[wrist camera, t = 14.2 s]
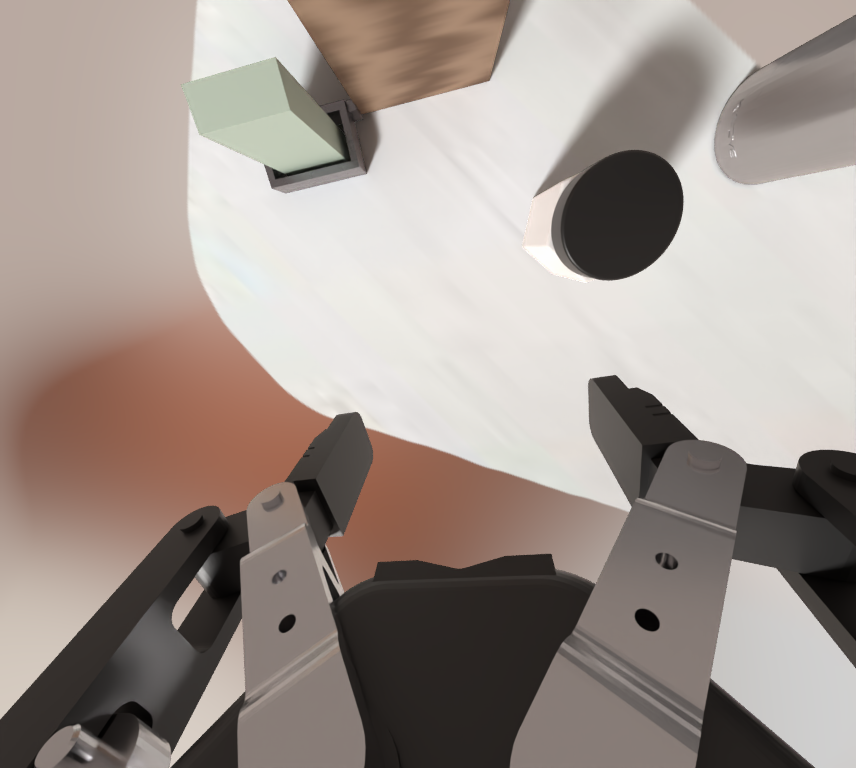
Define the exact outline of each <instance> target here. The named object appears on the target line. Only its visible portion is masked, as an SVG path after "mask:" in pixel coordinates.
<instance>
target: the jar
mask: <svg viewBox="0 0 856 768" xmlns="http://www.w3.org/2000/svg"><path fill="white" fill-rule="evenodd" d="M682 212H683V190H682V186H681V182H680V180H679V177H678V175H677V173H676V172H675V170H674V169H673V167H672V166H671V165H670V164H669V163H668V162H667V161H666V160H664V159H663V158H661V157H660V156H658V155H656V154H654V153H651V152H647V151H642V150H628V151H622V152H618V153H615V154H612V155H610V156H608V157H605V158H604V159H602V160H600V161H598V162H597V163H595V164H593V165H591V166H590V167H588V168H586V169H585V170H583V171H582V172H580V173H578V174H576V175H574V176H572V177H569V178H567V179H565V180H563V181H561V182H560V183H558V184H556V185H554V186H553V187H551V188H549V189H547V190H546V191H544V192H542V193H541V194H539V195H537V196H535V197H534V198H533V199H532V203H531V208H530V212H529V217H528V221H527V226H526V230H525V235H524V239H523V244H522V248H523V249H524V250H525V251H527V252H528V253H529V254H530V255H531V256H532V257H533V258H534V259H536V260H537V261H538V262H539V263H540V264H541V265H542V266H543V267H545V268H546V269H547V270H548V271H549V272H550V273H551V274H553V275H556V276H561V277H565V278H569V279H573V280H577V281H581V282H585V283H588V282H590V281H593V280H595V279H598V280H619V279H624V278H627V277H630V276H633V275H635V274H637V273H639V272H641V271H643V270H644V269H646V268H647V267H649V266H650V265H651V264H653V263H654V262H655V261H656V260H657V259H658V258H659V257H660V256H661V255H662V254H663V253H664V252H665V250H666V249H667V248H668V246H669V245H670V243H671V242H672V240H673V238H674V236H675V234H676V232H677V230H678V228H679V225H680V222H681V218H682Z"/></svg>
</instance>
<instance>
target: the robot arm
mask: <svg viewBox="0 0 856 768" xmlns="http://www.w3.org/2000/svg"><path fill="white" fill-rule="evenodd" d="M714 151H715V155H716V160H717V163H718V165H719V167H720V169H721V170H722V171H723V173H724V174H725V175H726V176H727V177H728V178H730V179H732V180H733V181H735V182H738V183H742V184H761V183H766V182H771V181H776V180H781V179H786V178H791V177H796V176H802V175H807V174H812V173H817V172H822V171H827V170H832V169H837V168H842V167H847V166H852V165H856V15H854V16H853V17H851V18H849V19H847V20H846V21H844V22H842V23H840V24H839V25H837V26H835V27H833V28H831V29H830V30H828V31H826V32H824V33H823V34H821V35H819V36H818V37H816V38H814V39H812V40H810V41H808V42H806V43H805V44H803V45H801V46H799V47H798V48H796V49H794V50H792V51H791V52H789V53H787V54H785V55H784V56H782V57H780V58H779V59H777V60H775V61H773V62H771V63H770V64H768V65H766V66H764V67H763V68H761V69H760V70H758V71H757V72H755V73H754V74H752V75H751V76H750V77H749V78H747V79H746V80H745V81H744V82H743V83H742V84H741V85H740V86H739V87H738V88H737V90H736V91H735V92H734V94H733V95H732V96H731V97H730V99H729V100H728V102H727V104H726V106H725V108H724V109H723V111H722V113H721V116H720V119H719V121H718V124H717V128H716V133H715V138H714ZM588 395H589V424H590V429H591V433H592V436H593V438H594V440H595V442H596V444H597V445H598V447H599V449H600V451H601V452H602V454H603V456H604V458H605V460H606V461H607V463H608V465H609V467H610V469H611V470H612V472H613V474H614V476H615V478H616V479H617V481H618V483H619V485H620V487H621V488H622V490H623V492H624V494H625V495H626V497H627V499H628V501H629V503H630V504H631V506H632V508H631V510H630V512H629V515H628V517H627V519H626V521H625V523H624V525H623V527H622V529H621V531H620V534H619V536H618V538H617V540H616V542H615V544H614V546H613V549H612V551H611V553H610V555H609V557H608V559H607V561H606V563H605V566H604V568H603V570H602V572H601V574H600V576H599V578H598V580H597V582H596V584H594V583H592V582H591V581H589V580H587V579H584V578H582V577H579V576H577V575H575V574H572V573H569V572H565V571H562V570H557V569H555V567H554V563H553V559H552V555H551V554H538V555H518V556H517V555H516V556H504V557H500V558H497V559H494V560H490V561H487V562H483V563H480V564H477V565H474V566H470V567H467V568H462V569H455V568H450V567H446V566H442V565H437V564H432V563H428V562H423V561H418V560H413V561H393V562H378V564H377V568H376V572H375V576H374V577H373V578H370V579H368V580H366V581H363V582H361V583H360V584H357V585H356V586H354V587H352V588H350V589H349V590H348V591H346V592H345V593H344V591H343V588H342V585H341V583H340V580H339V577H338V575H337V572H336V569H335V566H334V564H333V561H332V558H331V556H330V553H329V550H328V548H327V547H326V544H325V543H326V541H327V539H328V537H335V536H343V535H344V532H345V530H346V527H347V525H348V522H349V520H350V517H351V515H352V512H353V510H354V507H355V504H356V502H357V499H358V497H359V494H360V492H361V489H362V487H363V484H364V481H365V479H366V476H367V474H368V471H369V469H370V466H371V464H372V460H373V450H372V446H371V443H370V440H369V437H368V434H367V432H366V429H365V426H364V423H363V421H362V418H361V416H360V414H359V413H358V412H353V413H346V414H339V415H337V416H336V417H335V418H334V420H333V421H332V423H331V424H330V426H329V427H328V429H325V430H324V431H323V432H322V433H321V434H319V435H318V436H317V437H316V438H315V439H314V440H313V442H312V443H311V444H310V446H309V447H308V450H306V452H305V453H304V455H303V458H301V459H300V460H299V462H298V463H297V465H296V466H295V468H294V469H293V470H292V472H291V473H290V475H289V476H288V478H287V479H286V480H285V482H282V483H278V484H275V485H272V486H270V487H268V488H266V489H265V490H263V491H262V492H260V493H259V494H258V495H257V496H256V497H254V499H253V500H252V501H251V502H250V504H249V505H248V508H247V510H245V511H242V512H239V513H237V514H233V515H230V516H228V517H225V516H224V515H223V513H222V512H221V510H220V509H219V508H218V507H217V506H207V507H203V508H201V509H198V510H196V511H194V512H192V513H190V514H188V515H187V516H185V517H184V518H183V519H181V520H180V521H179V522H178V523H176V524H175V525H174V526H173V528H171V530H170V531H169V532H168V533H167V534H166V535H165V536H164V537H163V539H162V540H161V541H160V542H159V543H158V544H157V545H156V547H155V548H154V549H153V550H152V551H151V552H150V553H149V554H148V555H147V556H146V558H145V559H144V560H143V561H142V562H141V563H140V564H139V565H138V566H137V568H136V569H135V570H134V571H133V572H132V573H131V574H130V575H129V576H128V578H127V579H126V580H125V581H124V582H123V583H122V584H121V585H120V587H119V588H118V589H117V590H116V591H115V592H114V593H113V594H112V595H111V597H110V598H109V599H108V600H107V601H106V602H105V603H104V604H103V606H102V607H101V608H100V609H99V610H98V611H97V612H96V613H95V614H94V616H93V617H92V618H91V619H90V620H89V621H88V622H87V623H86V625H85V626H84V627H83V628H82V629H81V630H80V631H79V632H78V633H77V635H76V636H75V637H74V638H73V639H72V640H71V641H70V642H69V644H68V645H67V646H66V647H65V648H64V649H63V650H62V651H61V653H60V654H59V655H58V656H57V657H56V658H55V659H54V660H53V661H52V663H51V664H50V665H49V666H48V667H47V668H46V669H45V671H43V673H42V674H41V675H40V676H39V677H38V678H37V680H35V682H34V683H33V684H32V685H31V686H30V687H29V688H28V689H27V690H26V692H25V693H24V694H23V695H22V696H21V697H20V698H19V699H18V700H17V702H16V703H15V704H14V705H13V706H12V707H11V708H10V709H9V710H8V712H7V713H6V714H5V715H4V716H3V717H2V718H1V719H0V768H169V765H170V761H171V754H172V752H173V751H174V749H175V747H176V745H177V743H178V741H179V739H180V737H181V735H182V733H183V731H184V729H185V727H186V725H187V723H188V721H189V720H190V718H191V715H192V714H193V712H194V710H195V708H196V706H197V704H198V702H199V700H200V698H201V696H202V694H203V692H204V691H205V689H206V687H207V685H208V683H209V681H210V679H211V677H212V675H213V673H214V671H215V669H216V667H217V665H218V663H219V661H220V659H221V658H222V655H223V654H224V652H225V650H226V648H227V646H228V644H229V642H230V640H231V638H232V636H233V634H234V632H235V630H236V629H237V627H238V625H239V623H240V621H241V619H242V622H243V644H244V668H245V689H246V690H245V692H244V693H243V694H242V695H241V696H240V697H239V699H237V701H235V702H234V703H233V704H232V705H231V707H230V708H228V709H227V711H226V712H225V713H224V714H223V715H222V716H221V717H220V718H219V719H218V720H217V721H216V722H215V723H214V724H213V725H212V726H211V727H210V728H209V729H208V730H207V731H206V732H205V733H204V734H203V735H202V736H201V737H200V738H199V739H198V740H197V741H196V742H195V743H194V744H193V745H192V746H191V747H190V748H189V749H188V750H187V751H186V752H185V753H184V754H183V756H181V758H179V760H178V761H177V762H176V763H175V764H174V765H173V766H172V767H171V768H815V767H814V766H813V765H811V764H810V763H809V762H808V761H807V760H805V759H804V758H803V757H802V756H801V755H800V754H798V753H797V752H796V751H795V750H794V749H793V748H791V747H790V746H789V745H788V744H787V743H786V742H784V741H783V740H782V739H781V738H780V737H778V736H777V735H776V734H775V733H774V732H773V731H772V730H770V729H769V728H768V727H767V726H766V725H765V724H763V723H762V722H761V721H760V720H759V719H757V718H756V717H755V716H754V715H753V714H752V713H750V712H749V711H748V710H747V709H746V708H745V707H743V706H742V705H741V704H740V703H738V701H736V700H735V699H734V698H733V697H732V696H731V695H729V694H728V693H727V692H726V691H725V690H724V689H722V688H721V687H720V686H719V685H717V684H716V683H715V682H714V681H713V680H712V679H711V678H710V676H711V671H712V665H713V659H714V654H715V649H716V643H717V638H718V632H719V627H720V621H721V615H722V610H723V604H724V598H725V593H726V588H727V582H728V576H729V571H730V566H731V560H732V559H735V560H740V561H744V562H749V563H754V564H759V565H764V566H769V567H774V568H777V569H778V571H779V572H780V573H781V575H782V576H783V577H784V578H785V580H786V581H787V582H788V583H789V584H790V586H791V587H792V588H793V590H794V591H795V592H796V593H797V595H798V596H799V597H800V598H801V600H802V601H803V602H804V603H805V605H806V606H807V607H808V609H809V610H810V611H811V612H812V614H813V615H814V616H815V617H816V619H817V620H818V621H819V622H820V624H821V625H822V626H823V627H824V629H825V630H826V631H827V633H828V634H829V635H830V636H831V638H832V639H833V640H834V641H835V642H836V644H837V645H838V646H839V648H840V649H841V650H842V651H843V652H844V654H845V655H846V656H847V658H848V659H849V660H850V662H851V663H852V664H853V665H854V667H855V668H856V453H851V452H846V451H838V450H816V451H811V452H807V453H805V454H803V455H802V456H801V457H800V458H799V461H798V464H797V467H796V469H792V468H782V467H772V466H761V465H753V464H747V463H746V462H745V461H744V459H743V458H742V457H741V456H740V455H739V454H737V453H736V452H735V451H733V450H731V449H729V448H727V447H725V446H723V445H720V444H717V443H713V442H709V441H703V440H698V439H697V438H696V437H695V436H694V435H693V434H692V433H691V432H690V431H689V430H688V429H687V428H686V427H685V426H684V425H683V424H682V423H681V422H680V421H679V420H678V419H677V418H676V417H675V416H674V415H673V414H671V413H670V411H669V410H668V409H667V408H666V407H665V406H662V403H661V402H660V401H659V400H658V399H656V398H655V397H654V396H653V395H652V394H650V393H648V392H646V391H643V390H641V389H639V388H630V389H628V388H627V386H626V385H625V384H624V383H623V382H622V381H621V380H620V379H619V378H618V377H617V376H616V375H612V376H605V377H599V378H592V379H590V380H589V383H588ZM194 577H195V578H196V580H197V581H198V582H199V583H200V584H201V585H202V587H203V588H204V591H203V592H202V594H201V595H200V597H199V598H198V600H197V602H196V603H195V605H194V606H193V608H192V609H191V610H190V612H189V614H188V615H187V617H186V618H185V620H184V621H183V623H182V624H181V626H180V627H179V629H178V630H176V629H175V628H174V626H173V624H172V620H171V619H172V612H173V609H174V606H175V604H176V603H177V601H178V600H179V598H180V597H181V595H182V594H183V593H184V591H185V590H186V588H187V587H188V586H189V584H190V583H191V581H192V580H193V579H194Z"/></svg>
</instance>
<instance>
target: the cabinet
mask: <svg viewBox="0 0 856 768" xmlns="http://www.w3.org/2000/svg"><path fill="white" fill-rule="evenodd" d="M288 2H289V4H290V5H291V7H292V8H293V10H294V11H295V13H296V14H297V16H298V18H299V19H300V21H301V22H302V24H303V25H304V27H305V28H306V30H307V32H308V33H309V35H310V36H311V38H312V39H313V41H314V42H315V44H316V46H317V47H318V49H319V50H320V52H321V53H322V55H323V56H324V58H325V60H326V61H327V63H328V64H329V66H330V67H331V69H332V70H333V72H334V74H335V75H336V77H337V78H338V80H339V81H340V83H341V84H342V86H343V87H344V89H345V91H346V92H347V94H348V95H349V97H350V98H351V100H352V101H353V103H354V105H355V104H356V106H357V107H358V109H359V110H360V112H361V114H366V113H370V112H373V111H377V110H381V109H385V108H388V107H392V106H396V105H400V104H404V103H407V102H411V101H415V100H419V99H422V98H426V97H430V96H434V95H438V94H441V93H445V92H449V91H453V90H457V89H460V88H464V87H468V86H472V85H475V84H479V83H483V82H487V81H490V77H491V73H492V69H493V65H494V61H495V57H496V53H497V49H498V45H499V42H500V38H501V34H502V30H503V26H504V22H505V18H506V14H507V10H508V7H509V3H510V0H288Z"/></svg>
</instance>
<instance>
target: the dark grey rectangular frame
mask: <svg viewBox="0 0 856 768" xmlns="http://www.w3.org/2000/svg"><path fill="white" fill-rule="evenodd" d="M320 107H321V108H322V109H323V111H324V112H325V113H326V114H327V115H328V116H329V117H330V118H331V119H332V121H333V122H334V123H335V124H336V125H339V124H343V128H344V132H345V136H346V141H347V145H348V149H349V153H350V158H351V161H349V162H345V163H341V164H337V165H333V166H329V167H325V168H321V169H317V170H313V171H309V172H304V173H300V174H296V175H292V176H288V177H287V175H286V174H284V173H282V172H280V171H278V170H276V169H273V168H271V167H269V166H267V165H265V164H264V166H265V169H266V172H267V175H268V178H269V181H270V184H271V187H272V189H275V190H278V191H281V192H284V193H289V192H293V191H298V190H302V189H306V188H310V187H314V186H318V185H322V184H327V183H331V182H335V181H339V180H343V179H347V178H351V177H355V176H360V175H364V174H367V173H366V168H365V164H364V159H363V155H362V150H361V146H360V142H359V137H358V133H357V128H356V124H355V122H356V121H360V120H363V117H362V114H361V112H360V110H359V109H358V107H357V106H356V104H355V105H354V103H353V101H352V100H347V101H346V102H345V100H340V101H337V102H333V103H329V104H326V105H322V106H320Z"/></svg>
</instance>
